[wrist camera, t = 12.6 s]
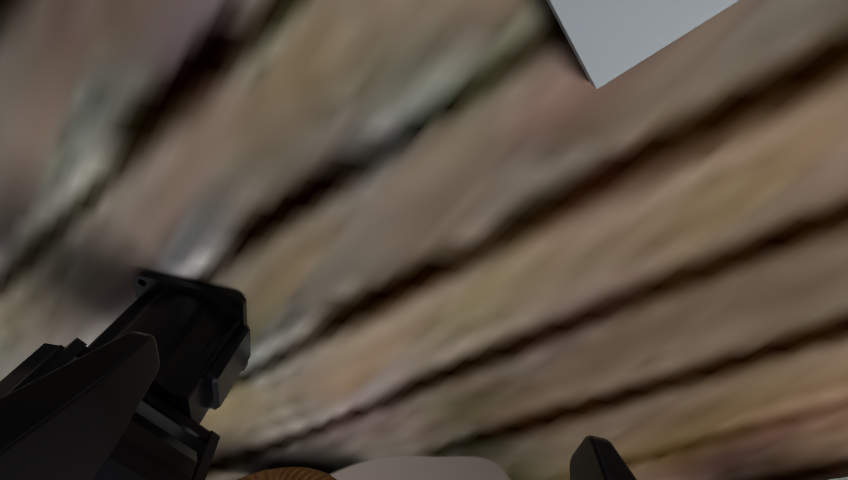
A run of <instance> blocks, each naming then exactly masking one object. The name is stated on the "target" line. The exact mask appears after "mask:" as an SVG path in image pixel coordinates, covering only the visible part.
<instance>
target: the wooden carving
mask: <svg viewBox="0 0 848 480" xmlns="http://www.w3.org/2000/svg"><path fill="white" fill-rule="evenodd" d="M238 480H336V479H335V478H334V477H332V476H331V475H329V474H328V473H325V472H323V471H320V470H316V469H312V468H307V467H294V466H292V467H280V468H275V469H265V470H263V471H259V472H257V473H252V474H250V475H247V476H245V477H243V478H240V479H238Z"/></svg>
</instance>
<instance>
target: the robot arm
mask: <svg viewBox="0 0 848 480" xmlns="http://www.w3.org/2000/svg"><path fill="white" fill-rule="evenodd" d="M134 285H135V289H136V294H137V300H136V301H135V302H134V303H133V304H132V305H131V306H130V307H129V308H128V309H126V310H125V311H124V312H123V313H122V314H121V315H120V316H119V317H118V318H117V319H116V320H115V321H114V322H113V323H112V324H111V325H110V326H109V327H108V328H107V329H106V330H105V331H104V332H103V333H102V334H101V335H100V336H98V337H97V338H96V339H95V340H94V341H93V342H92V343H91V344H90V345H89V346H88V347H86V345H87V344H86V343H84V342H83V341H81V340H80V339H79V338H76V339H75V340H73V341H72V342H71V343H70V344H68V345H67V346H66V347H63V346H62V345H60V346H58V345H52V344H46V343H44V344H43V345H42V346H41V347H40V348H39V349H37V350H36V351H35V352H34V353H33V354H32V355H31V356H29V357H28V358H27V359H26V360H25V361H24V362H22V363H21V364H20V365H19V366H18V367H17V368H15V369H14V370H13V371H12V372H11V373H10V374H8V375H7V376H6V377H5V378H4V379H3V380H1V381H0V480H205V478H206V475H207V473H208V470H209V467H210V464H211V461H212V458H213V456H214V453H215V450H216V447H217V444H218V441H219V439H220V436H219V435H218V434H216V433H215V432H213V431H209V430H207V429H206V428H204V427H203V426H201V425H200V422H201V421H202V419H203V418H204V416H205V414H206V413H207V411H208V409H209V408H210V409H214V410H215V409H217V408H219V407H220V406H221V405H222V403H223V401H224V400H225V398H226V396H227V395H228V393H229V391H230V389H231V388H232V386H233V384H234V383H235V381H236V379H237V378H238V376H239V374H240V373H241V371H243V370H244V369H245V368H246V366H247V364H248V359H249V357H250V329H249V327H248V326H247V309H246V299H245V298H244V296H242V295H241V294H238V293H234V292H230V291H225V290H221V289H217V288H212V287H208V286H204V285H199V284H195V283H191V282H186V281H182V280H178V279H173V278H169V277H165V276H160V275H156V274H152V273H147V272H140V273H139V274H138V275H137V276H135V278H134ZM235 301H236V302H235ZM237 302H238V303H237ZM570 480H637V479H636V478H635V476H634V475H633V473H632V472H631V471H630V469H629V468H628V466H627V465H626V463H625V462H624V461H623V459H622V458H621V456H620V455H619V454H618V452H617V451H616V449H615V448H614V446H613V445H612V444H611V443H610V442H609V441H608V440H607V439H604V438H600V437H595V436H591V435H589V436H587V437H586V438H585V439H584V440H583V441H582V443H581V444H580V446H579V447H578V448H577V450H576V451H575V453H574V454H573V456H572V458H571V461H570Z"/></svg>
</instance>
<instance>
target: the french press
mask: <svg viewBox="0 0 848 480" xmlns="http://www.w3.org/2000/svg"><path fill="white" fill-rule="evenodd" d="M828 480H848V477H843V478H836V479H828Z"/></svg>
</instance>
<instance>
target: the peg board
mask: <svg viewBox="0 0 848 480" xmlns="http://www.w3.org/2000/svg"><path fill="white" fill-rule="evenodd" d="M737 1H738V0H547V2H548V4H549V6H550V8H551V10H552V12H553V14H554V16H555V17H556V19H557V21H558V23H559V25H560V27H561V29H562V31H563V33H564V34H565V36H566V38H567V40H568V42H569V44H570V46H571V48H572V50H573V51H574V53H575V55H576V57H577V59H578V61H579V63H580V65H581V67H582V68H583V70H584V72H585V74H586V76H587V78H588V80H589V82H590V83H591V84H592V85H593V86H594V87H595V88H596V89H598V88H600V87H601V86H603V85H604V84H606V83H608V82H609V81H611V80H612V79H614V78H616V77H617V76H619V75H620V74H622V73H624V72H625V71H627V70H628V69H630V68H631V67H633V66H635V65H636V64H638V63H639V62H641V61H643V60H644V59H646V58H647V57H649V56H651V55H652V54H654V53H655V52H657V51H659V50H660V49H662V48H663V47H665V46H667V45H668V44H670V43H671V42H673V41H675V40H676V39H678V38H679V37H681V36H683V35H684V34H686V33H687V32H689V31H691V30H692V29H694V28H695V27H697V26H699V25H700V24H702V23H703V22H705V21H707V20H708V19H710V18H711V17H713V16H715V15H716V14H718V13H719V12H721V11H722V10H724V9H726V8H727V7H729V6H730V5H732V4H734V3H735V2H737Z"/></svg>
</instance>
